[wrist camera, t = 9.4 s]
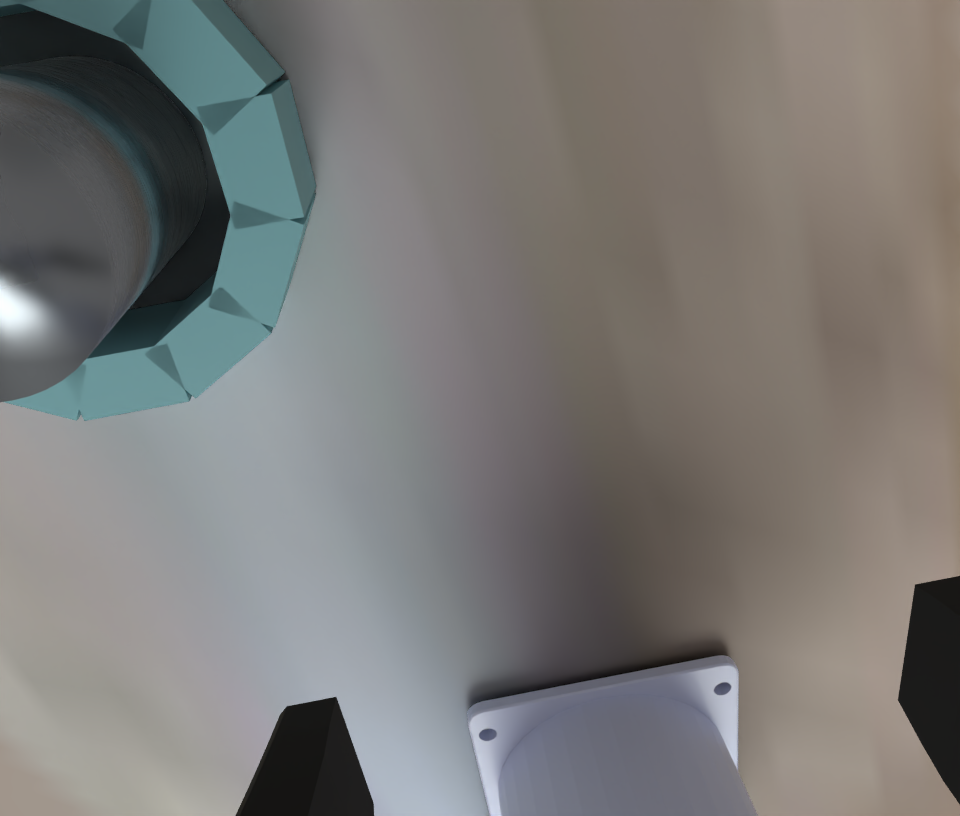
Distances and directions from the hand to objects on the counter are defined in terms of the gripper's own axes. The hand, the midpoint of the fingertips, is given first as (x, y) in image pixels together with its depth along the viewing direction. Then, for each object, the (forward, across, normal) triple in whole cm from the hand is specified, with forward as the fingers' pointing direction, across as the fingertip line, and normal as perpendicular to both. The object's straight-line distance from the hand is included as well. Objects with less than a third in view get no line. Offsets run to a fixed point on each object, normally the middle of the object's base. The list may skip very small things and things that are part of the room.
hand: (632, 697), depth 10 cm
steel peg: (+9, +8, -6) cm, 13 cm away
